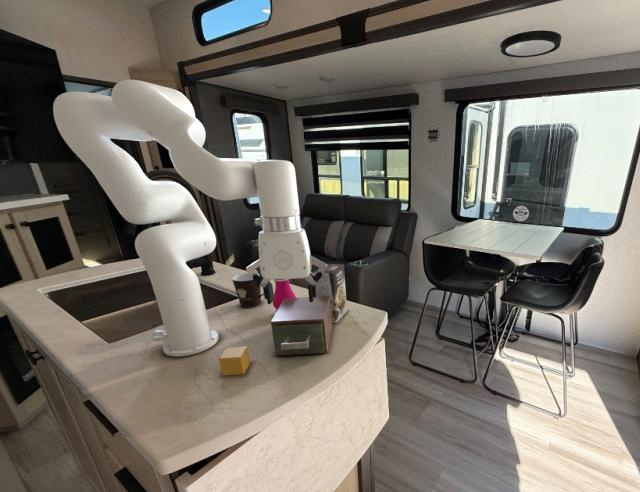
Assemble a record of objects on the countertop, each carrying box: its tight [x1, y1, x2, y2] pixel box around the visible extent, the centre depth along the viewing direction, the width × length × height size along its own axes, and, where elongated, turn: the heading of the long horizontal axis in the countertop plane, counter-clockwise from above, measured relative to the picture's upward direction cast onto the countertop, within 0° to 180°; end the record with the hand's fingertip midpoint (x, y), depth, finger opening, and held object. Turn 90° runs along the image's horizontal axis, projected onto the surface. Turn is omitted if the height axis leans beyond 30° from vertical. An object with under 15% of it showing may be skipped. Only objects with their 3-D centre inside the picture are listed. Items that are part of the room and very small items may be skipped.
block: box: [218, 346, 251, 376], centre depth 74 cm, size 5×5×5 cm
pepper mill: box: [272, 279, 297, 313], centre depth 98 cm, size 7×7×20 cm
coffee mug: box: [231, 272, 264, 309], centre depth 107 cm, size 12×9×10 cm
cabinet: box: [270, 296, 333, 357], centre depth 85 cm, size 15×13×10 cm
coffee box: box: [313, 263, 348, 324], centre depth 98 cm, size 9×6×16 cm
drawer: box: [272, 322, 324, 356], centre depth 81 cm, size 18×11×8 cm, turn 6°
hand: (291, 300), depth 72 cm, fingers open, 8 cm apart
